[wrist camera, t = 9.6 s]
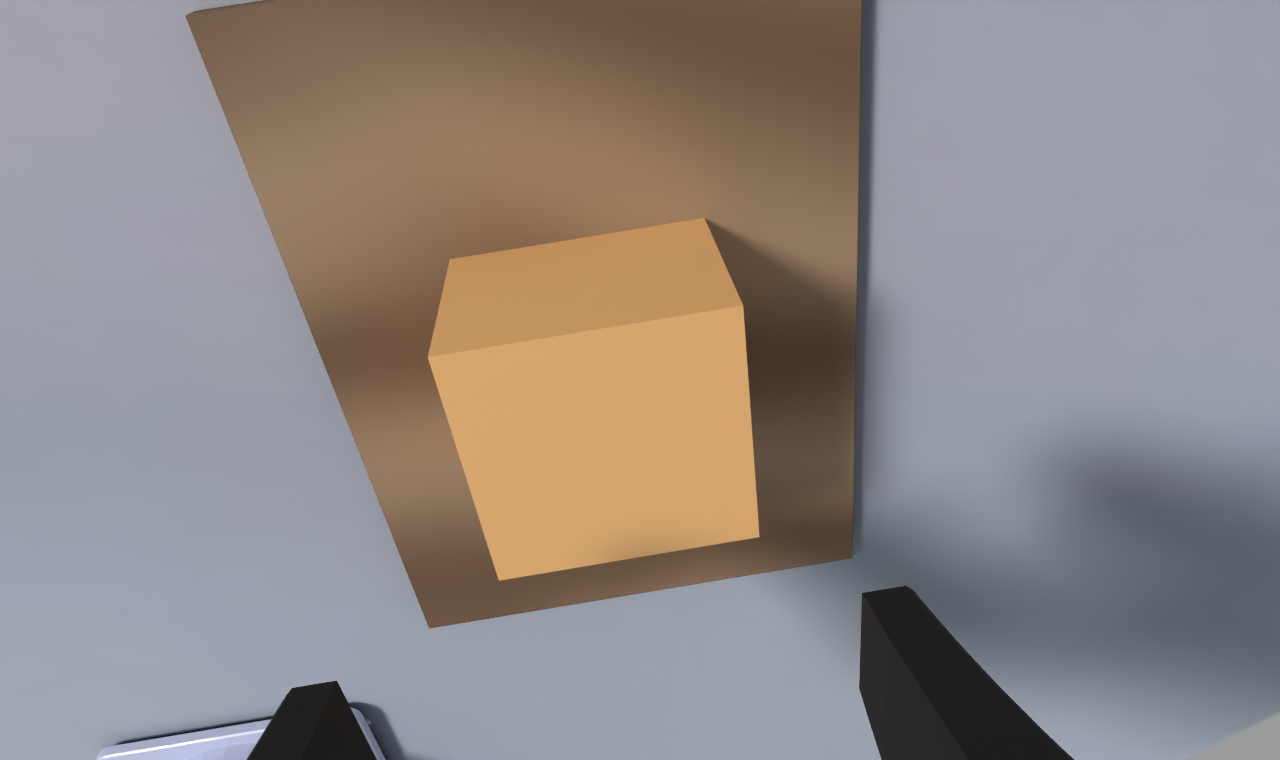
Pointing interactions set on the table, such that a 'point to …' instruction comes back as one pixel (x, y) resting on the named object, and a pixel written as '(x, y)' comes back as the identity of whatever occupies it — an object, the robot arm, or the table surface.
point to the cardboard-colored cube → (599, 397)
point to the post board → (558, 227)
